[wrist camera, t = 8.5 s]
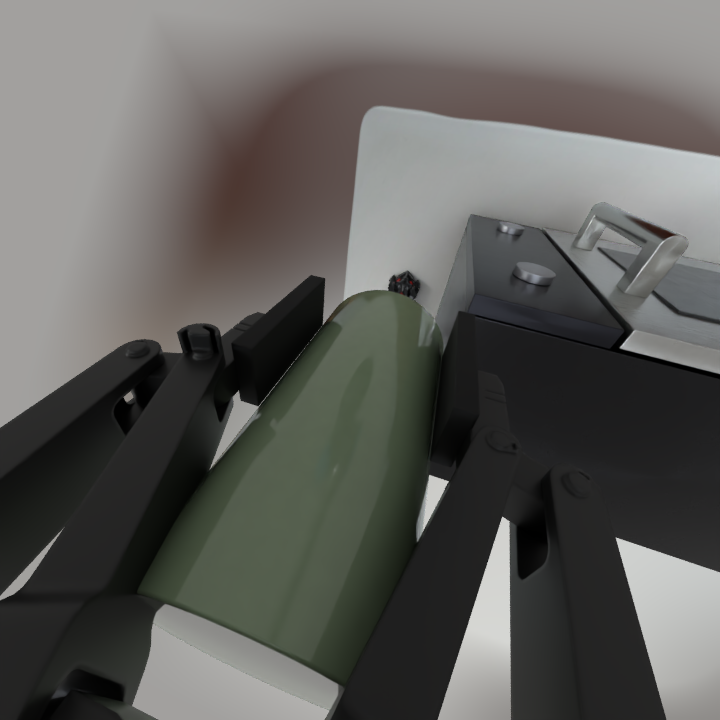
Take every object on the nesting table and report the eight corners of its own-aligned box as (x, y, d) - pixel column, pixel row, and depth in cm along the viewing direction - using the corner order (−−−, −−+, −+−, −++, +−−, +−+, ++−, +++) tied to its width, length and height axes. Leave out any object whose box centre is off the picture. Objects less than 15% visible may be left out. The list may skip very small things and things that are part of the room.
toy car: (380, 324, 61) (375, 334, 57) (391, 266, 53) (386, 274, 50) (410, 332, 60) (407, 342, 56) (424, 273, 52) (422, 282, 49)
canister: (330, 277, 16) (55, 552, 5) (460, 306, 15) (441, 723, 4) (325, 374, 21) (166, 636, 10) (426, 402, 19) (375, 733, 9)
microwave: (472, 208, 45) (479, 283, 21) (778, 271, 39) (1273, 475, 15) (430, 333, 59) (404, 466, 34) (652, 393, 53) (808, 602, 29)
